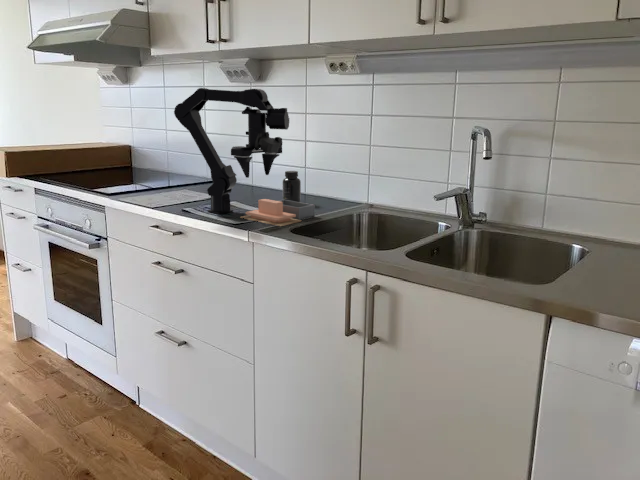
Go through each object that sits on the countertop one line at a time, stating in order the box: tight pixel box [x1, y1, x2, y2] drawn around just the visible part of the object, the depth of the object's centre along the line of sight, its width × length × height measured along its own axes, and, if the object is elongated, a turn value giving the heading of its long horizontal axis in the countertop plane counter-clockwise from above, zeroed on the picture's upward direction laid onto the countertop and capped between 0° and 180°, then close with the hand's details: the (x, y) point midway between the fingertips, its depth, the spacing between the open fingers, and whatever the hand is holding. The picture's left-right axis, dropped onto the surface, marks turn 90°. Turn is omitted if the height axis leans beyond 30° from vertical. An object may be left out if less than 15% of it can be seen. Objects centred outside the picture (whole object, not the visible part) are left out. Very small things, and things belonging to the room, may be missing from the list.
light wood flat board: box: [239, 214, 303, 227], centre depth 180 cm, size 18×10×1 cm, turn 51°
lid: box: [245, 198, 296, 223], centre depth 179 cm, size 14×8×6 cm, turn 51°
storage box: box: [278, 199, 316, 220], centre depth 187 cm, size 14×8×4 cm, turn 51°
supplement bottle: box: [282, 170, 302, 203], centre depth 208 cm, size 7×7×12 cm
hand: (257, 176), depth 185 cm, fingers open, 9 cm apart
